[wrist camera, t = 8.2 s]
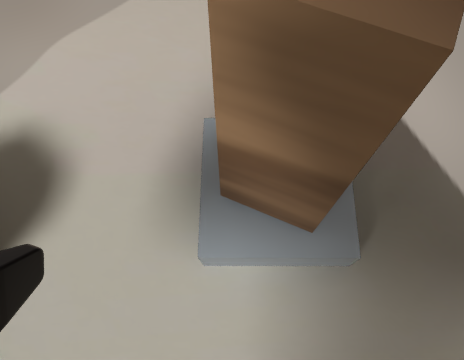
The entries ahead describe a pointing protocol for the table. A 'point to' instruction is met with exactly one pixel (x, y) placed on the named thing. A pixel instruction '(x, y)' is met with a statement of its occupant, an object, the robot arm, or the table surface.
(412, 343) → the table surface
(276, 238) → the slate block
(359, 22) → the walnut pillar
